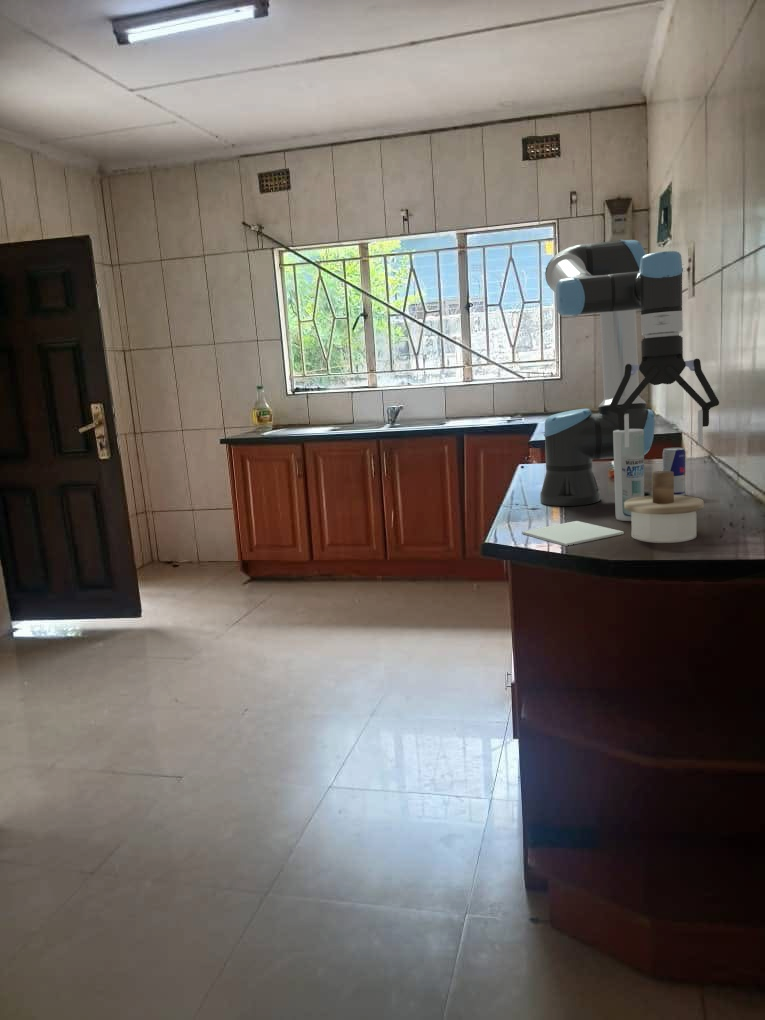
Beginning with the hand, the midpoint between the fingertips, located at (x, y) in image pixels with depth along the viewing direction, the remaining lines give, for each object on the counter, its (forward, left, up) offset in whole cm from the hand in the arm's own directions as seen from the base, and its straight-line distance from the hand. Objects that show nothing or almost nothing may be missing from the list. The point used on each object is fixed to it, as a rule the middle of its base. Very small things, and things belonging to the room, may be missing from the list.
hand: (663, 445), depth 148 cm
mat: (-14, -12, -19) cm, 26 cm away
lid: (0, 0, -13) cm, 13 cm away
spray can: (-17, +7, -19) cm, 26 cm away
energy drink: (-29, +33, -19) cm, 48 cm away
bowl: (0, 0, -19) cm, 19 cm away
